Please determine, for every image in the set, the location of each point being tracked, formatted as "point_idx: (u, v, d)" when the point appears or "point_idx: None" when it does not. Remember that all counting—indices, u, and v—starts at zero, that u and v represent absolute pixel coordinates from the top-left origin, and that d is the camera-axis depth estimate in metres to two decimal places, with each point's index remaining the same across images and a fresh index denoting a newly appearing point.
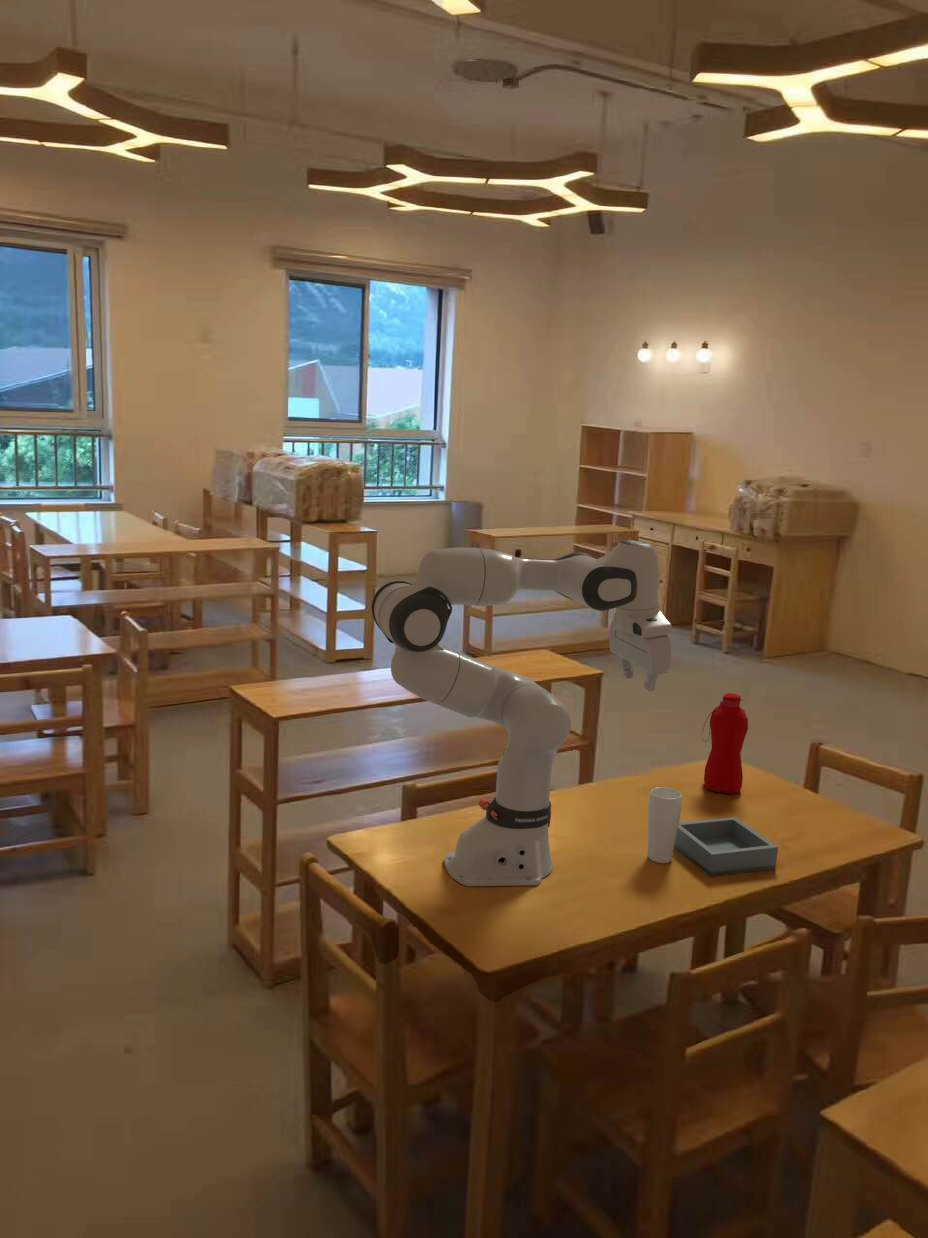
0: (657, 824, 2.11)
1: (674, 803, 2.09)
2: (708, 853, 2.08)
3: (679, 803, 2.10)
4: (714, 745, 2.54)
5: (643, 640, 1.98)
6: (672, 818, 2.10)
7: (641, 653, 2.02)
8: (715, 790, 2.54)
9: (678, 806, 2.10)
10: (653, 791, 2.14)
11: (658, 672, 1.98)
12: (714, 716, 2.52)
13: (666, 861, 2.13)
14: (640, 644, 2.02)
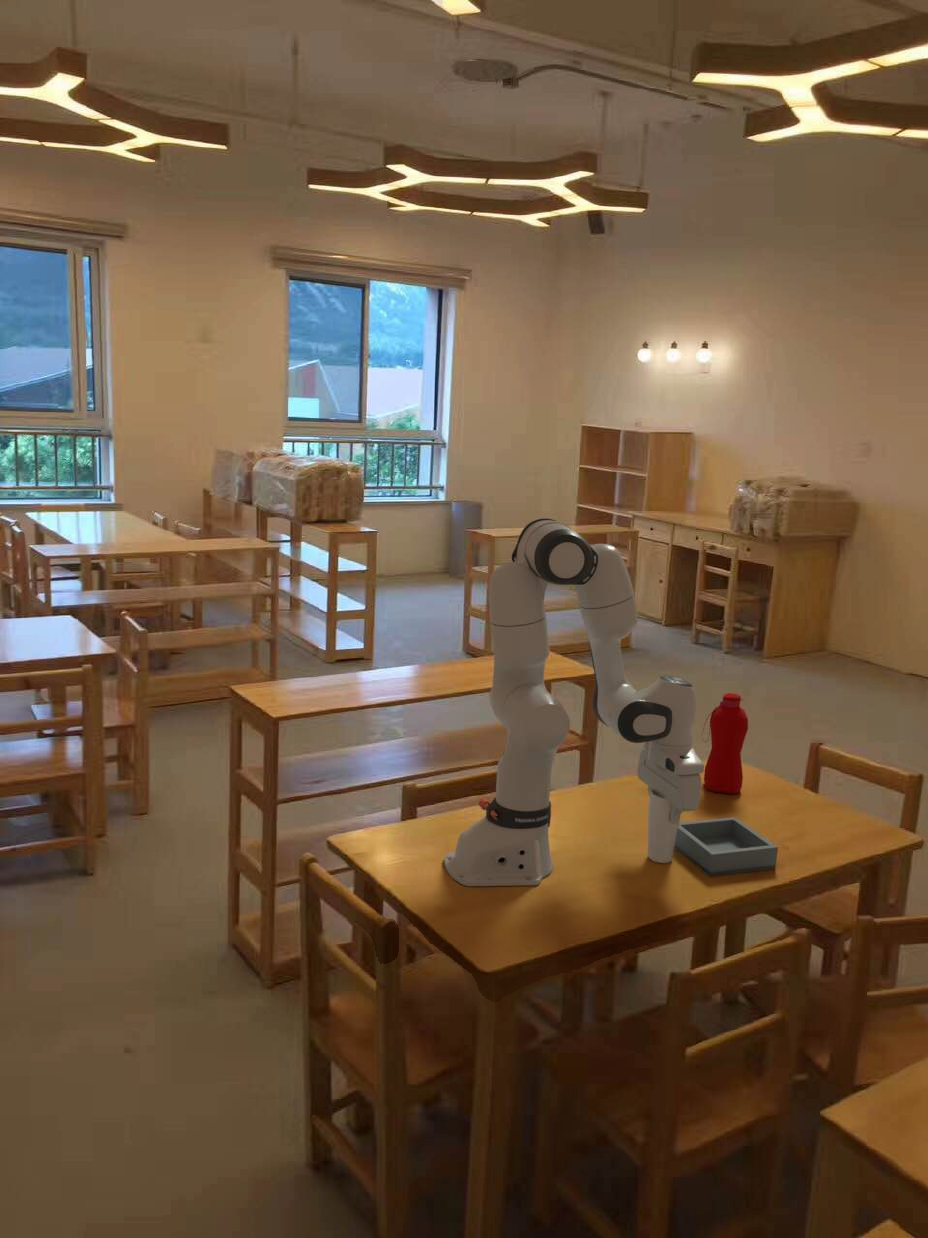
0: (657, 824, 2.11)
1: None
2: (708, 853, 2.08)
3: None
4: (714, 745, 2.54)
5: (675, 777, 2.03)
6: None
7: (671, 788, 2.07)
8: (715, 790, 2.54)
9: None
10: (653, 791, 2.14)
11: (687, 809, 2.03)
12: (714, 716, 2.52)
13: (666, 861, 2.13)
14: (671, 779, 2.07)
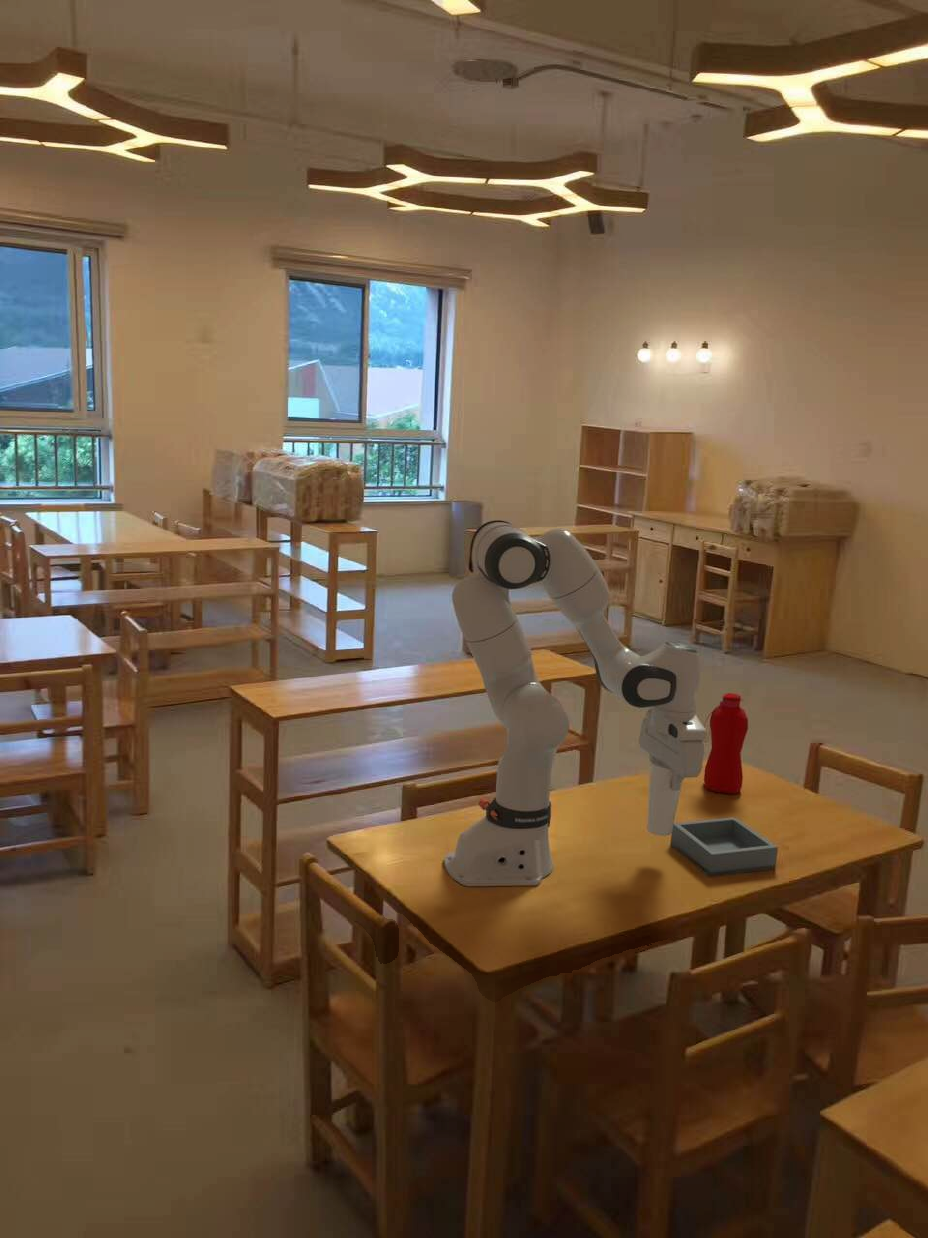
0: (657, 794, 2.09)
1: None
2: (708, 853, 2.08)
3: None
4: (714, 745, 2.54)
5: (678, 742, 2.02)
6: None
7: (673, 755, 2.05)
8: (715, 790, 2.54)
9: None
10: (655, 762, 2.13)
11: (689, 776, 2.01)
12: (714, 716, 2.52)
13: (665, 833, 2.11)
14: (673, 745, 2.06)
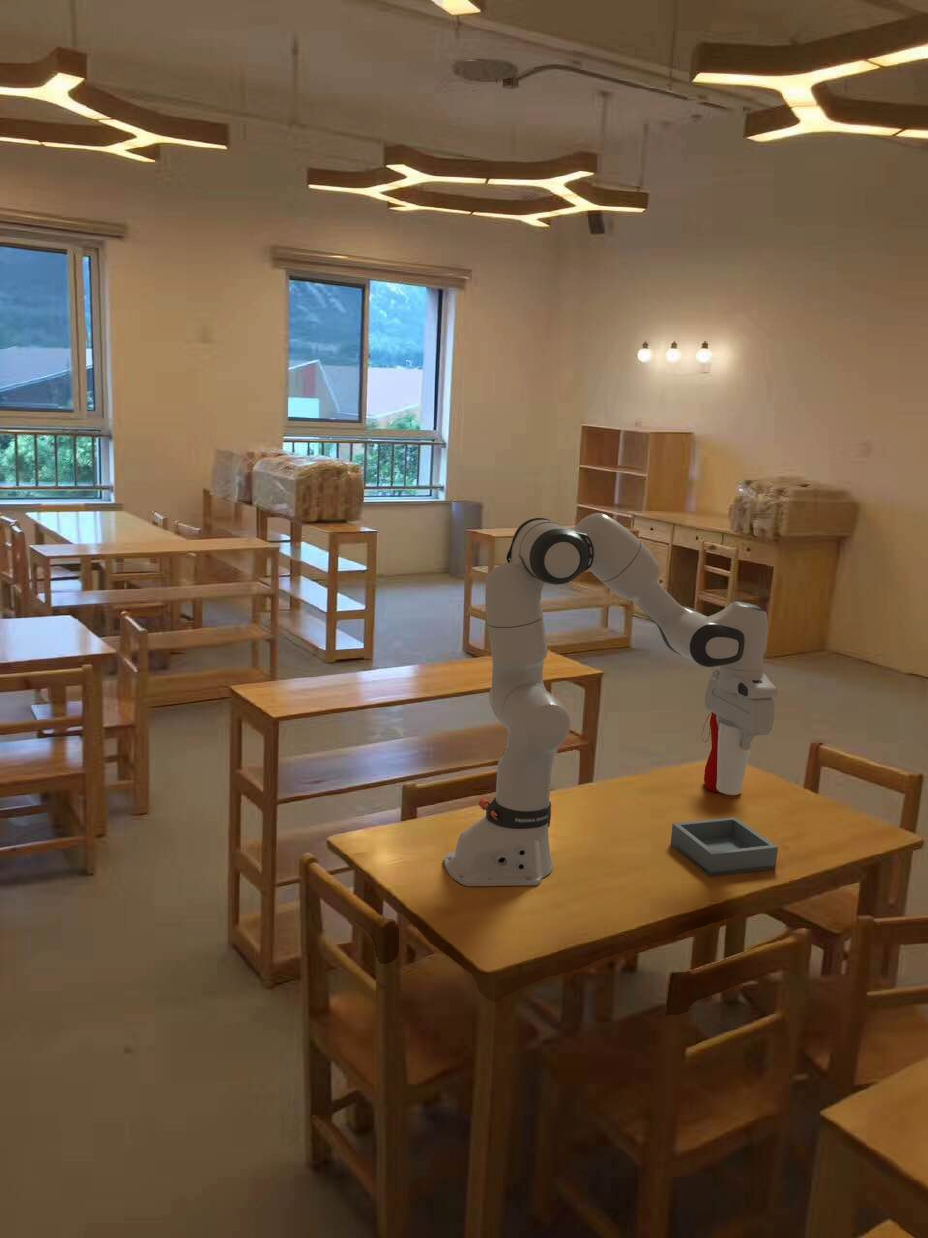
0: (727, 753, 2.10)
1: None
2: (708, 853, 2.08)
3: None
4: (714, 745, 2.54)
5: (748, 701, 2.03)
6: None
7: (743, 713, 2.06)
8: (715, 790, 2.54)
9: None
10: (723, 722, 2.14)
11: (760, 733, 2.02)
12: (714, 716, 2.52)
13: (735, 792, 2.12)
14: (742, 704, 2.06)
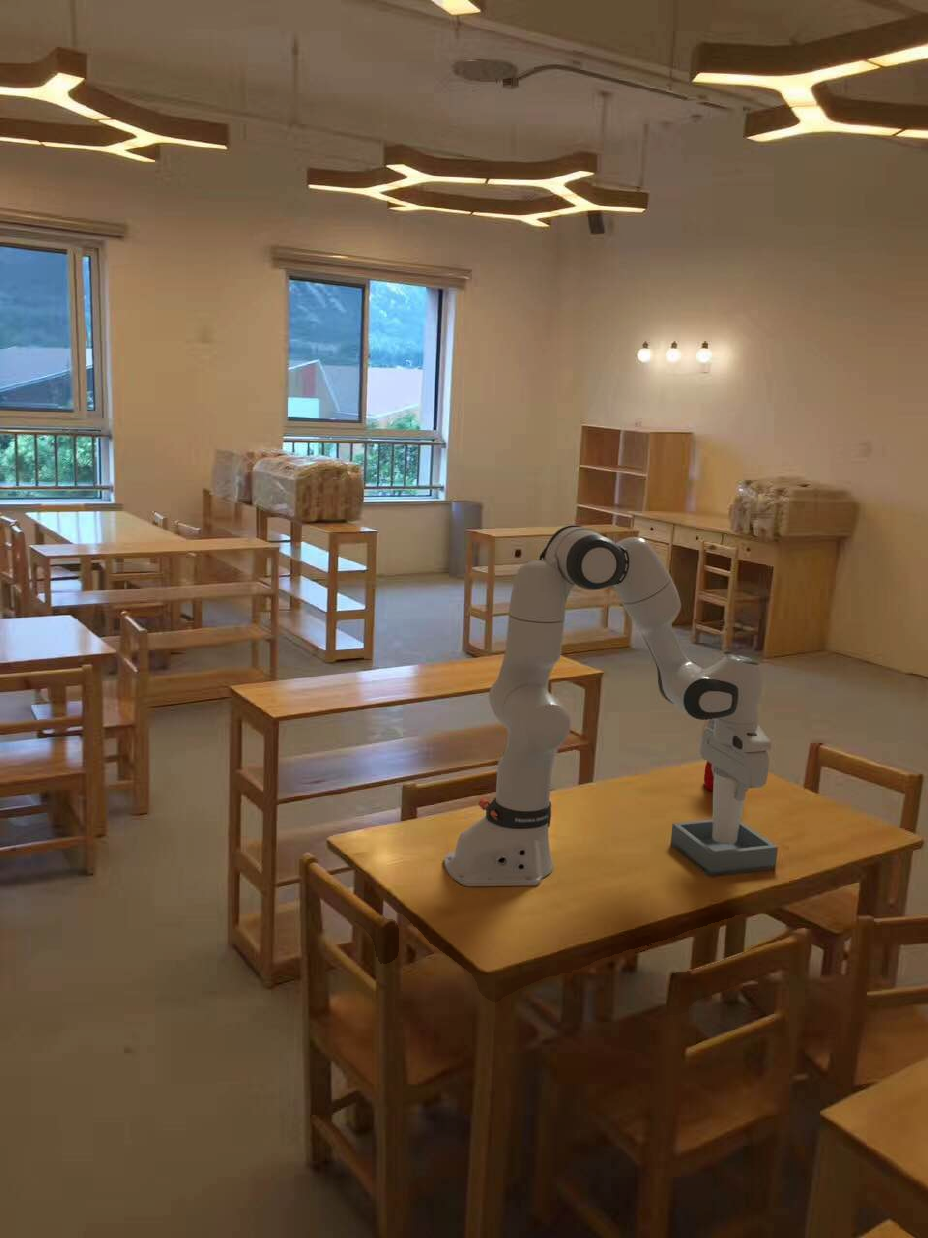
0: (722, 804, 2.12)
1: None
2: (708, 853, 2.08)
3: None
4: None
5: (743, 754, 2.05)
6: None
7: (737, 766, 2.08)
8: None
9: None
10: (718, 772, 2.16)
11: (754, 786, 2.04)
12: None
13: (730, 842, 2.14)
14: (737, 756, 2.09)
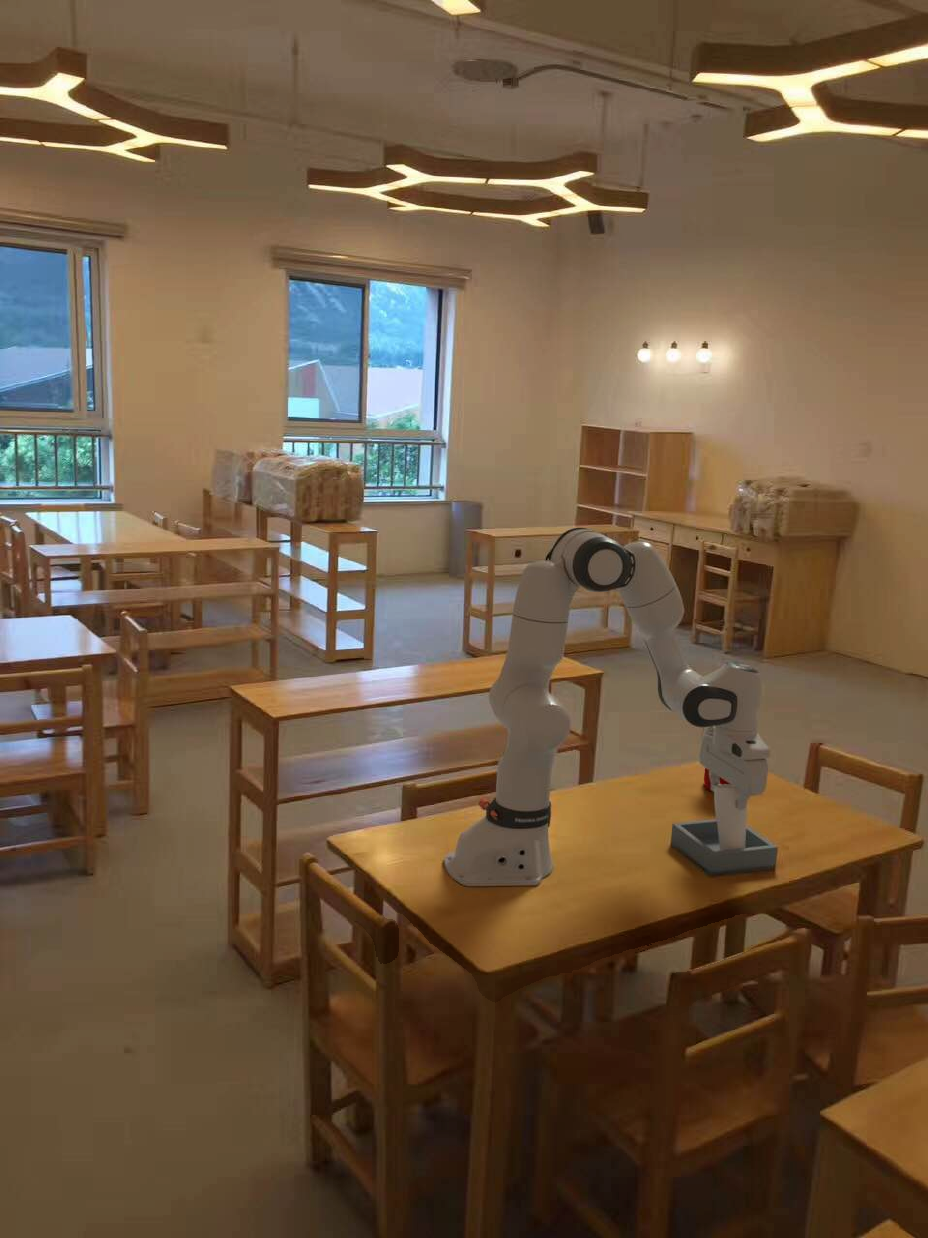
0: (724, 816, 2.12)
1: None
2: (708, 853, 2.08)
3: None
4: None
5: (742, 761, 2.05)
6: None
7: (737, 773, 2.09)
8: None
9: None
10: None
11: (753, 794, 2.05)
12: None
13: None
14: (736, 764, 2.09)
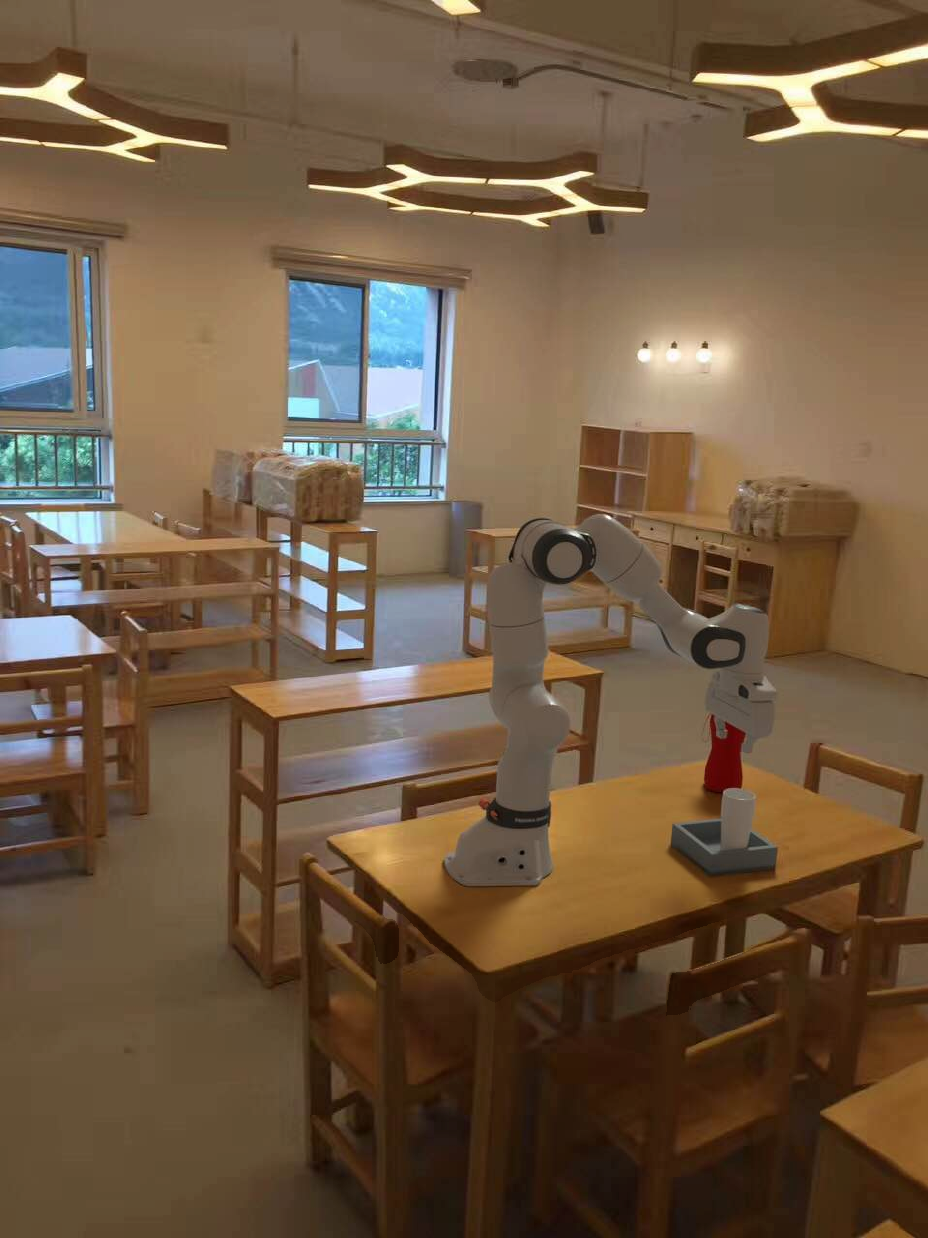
0: (729, 824, 2.10)
1: (747, 804, 2.08)
2: (708, 853, 2.08)
3: (752, 804, 2.09)
4: (714, 745, 2.54)
5: (748, 703, 2.03)
6: (745, 819, 2.09)
7: (743, 716, 2.06)
8: (715, 790, 2.54)
9: (751, 807, 2.09)
10: (726, 792, 2.13)
11: (760, 736, 2.02)
12: (714, 716, 2.52)
13: None
14: (743, 706, 2.06)
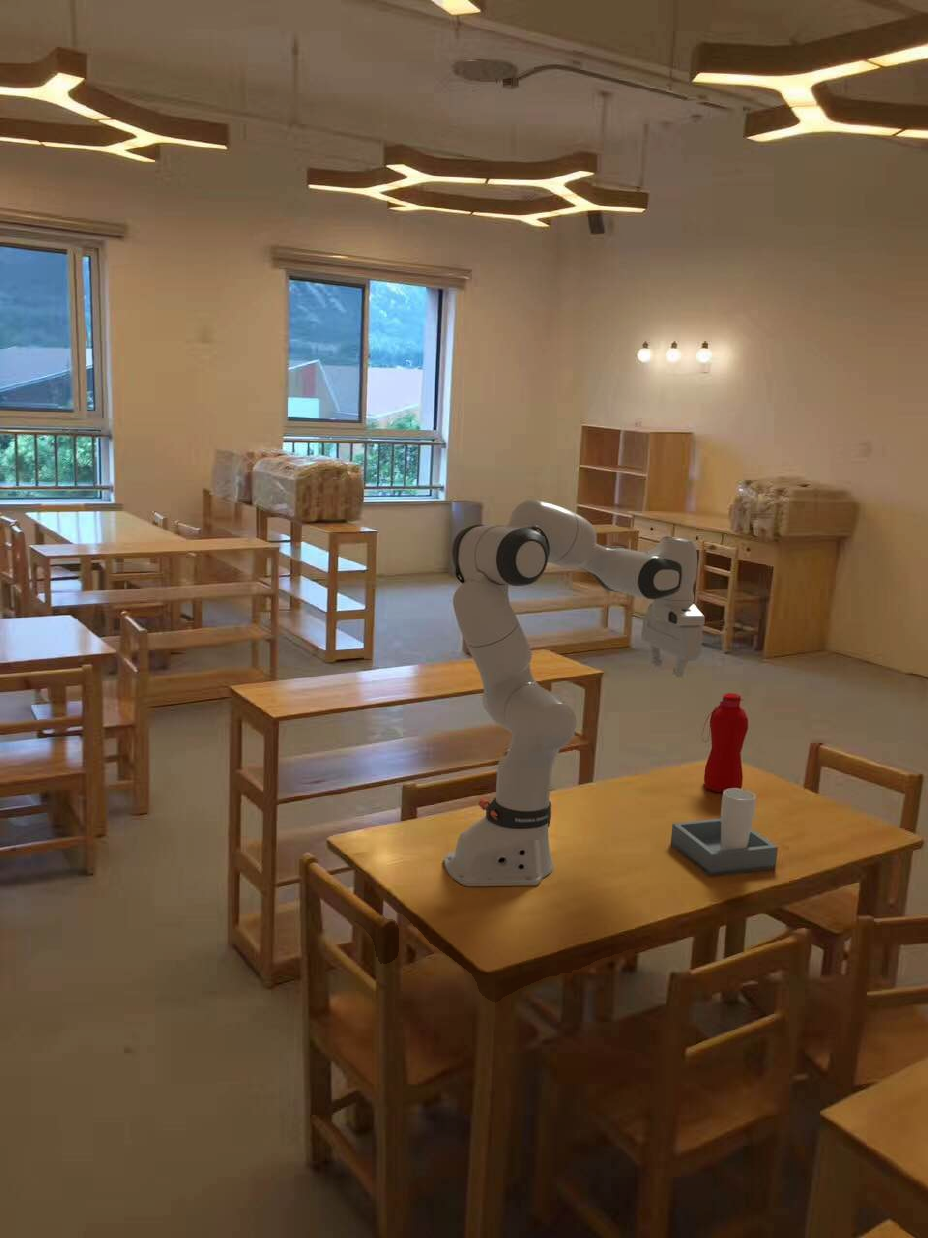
0: (729, 824, 2.10)
1: (747, 805, 2.08)
2: (708, 853, 2.08)
3: (752, 805, 2.09)
4: (714, 745, 2.54)
5: (677, 628, 2.15)
6: (745, 819, 2.09)
7: (673, 641, 2.18)
8: (715, 790, 2.54)
9: (751, 807, 2.09)
10: (726, 792, 2.13)
11: (689, 659, 2.14)
12: (714, 716, 2.52)
13: None
14: (673, 632, 2.18)
